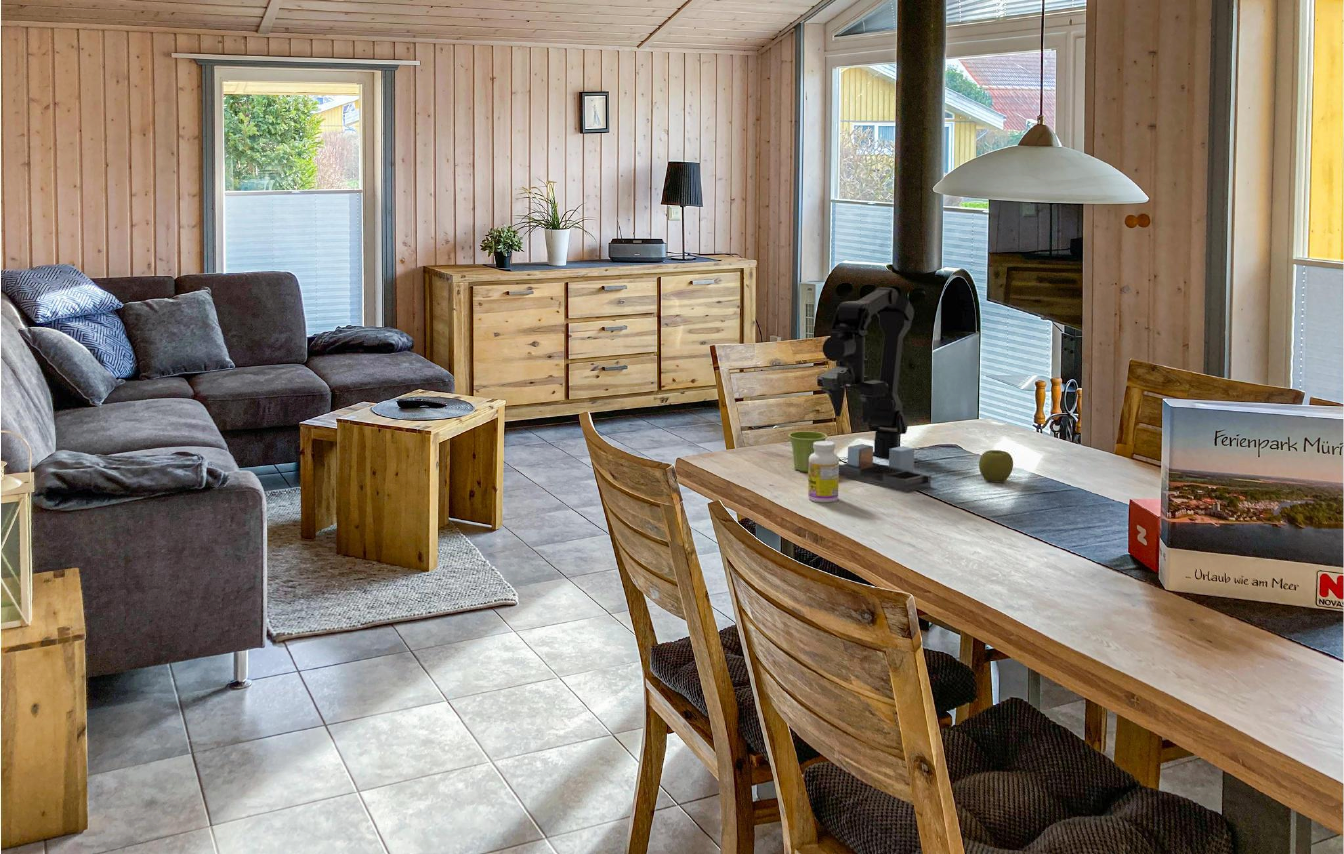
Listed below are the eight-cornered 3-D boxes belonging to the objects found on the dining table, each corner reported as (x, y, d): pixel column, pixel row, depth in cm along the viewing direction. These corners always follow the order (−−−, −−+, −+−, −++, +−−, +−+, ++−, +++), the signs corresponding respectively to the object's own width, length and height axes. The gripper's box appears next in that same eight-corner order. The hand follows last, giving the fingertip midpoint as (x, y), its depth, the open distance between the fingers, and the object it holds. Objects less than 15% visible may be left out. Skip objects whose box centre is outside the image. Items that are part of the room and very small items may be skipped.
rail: (859, 470, 293) (860, 441, 292) (930, 487, 276) (931, 456, 275) (836, 475, 288) (837, 445, 287) (907, 492, 271) (908, 461, 270)
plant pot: (826, 465, 299) (826, 431, 297) (827, 474, 289) (827, 439, 288) (788, 464, 299) (788, 430, 298) (788, 473, 290) (788, 438, 289)
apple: (994, 486, 276) (995, 456, 275) (970, 479, 283) (972, 450, 282) (1019, 483, 280) (1020, 453, 278) (995, 476, 286) (996, 446, 285)
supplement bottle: (805, 496, 269) (806, 440, 266) (834, 495, 269) (835, 439, 267) (811, 503, 262) (812, 446, 260) (841, 502, 263) (842, 445, 260)
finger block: (901, 469, 294) (901, 445, 293) (913, 472, 291) (914, 448, 290) (887, 472, 291) (888, 448, 290) (899, 475, 288) (900, 451, 286)
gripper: (800, 354, 288) (800, 417, 292) (856, 363, 274) (855, 430, 277) (834, 349, 295) (833, 411, 298) (890, 358, 280) (889, 423, 284)
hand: (851, 419), depth 289 cm, fingers open, 9 cm apart
